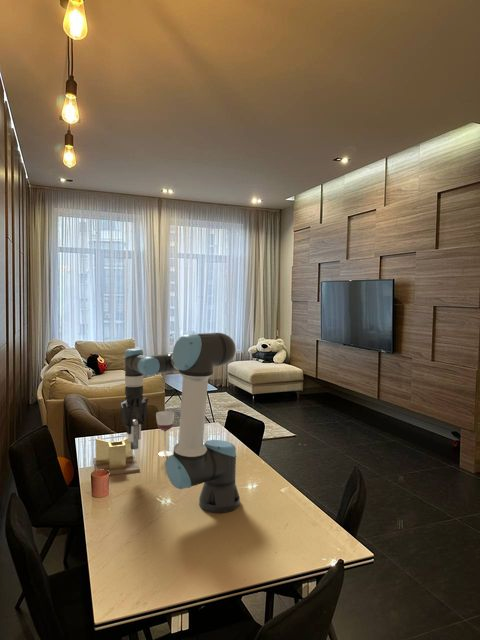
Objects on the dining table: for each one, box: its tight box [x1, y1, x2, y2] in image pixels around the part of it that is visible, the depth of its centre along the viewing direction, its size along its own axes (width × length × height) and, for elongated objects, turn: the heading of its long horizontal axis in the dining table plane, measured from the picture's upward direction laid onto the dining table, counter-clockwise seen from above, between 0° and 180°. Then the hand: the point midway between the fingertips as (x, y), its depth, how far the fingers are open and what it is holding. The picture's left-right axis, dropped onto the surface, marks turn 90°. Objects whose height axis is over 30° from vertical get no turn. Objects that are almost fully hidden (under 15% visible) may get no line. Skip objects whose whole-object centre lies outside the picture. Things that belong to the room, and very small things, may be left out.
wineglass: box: [155, 410, 175, 457], centre depth 216 cm, size 8×9×20 cm
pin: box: [131, 418, 139, 450], centre depth 189 cm, size 3×3×12 cm
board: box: [93, 454, 141, 476], centre depth 200 cm, size 20×18×1 cm
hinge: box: [95, 436, 134, 469], centre depth 200 cm, size 13×17×10 cm
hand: (134, 439), depth 189 cm, fingers closed on pin, 3 cm apart
